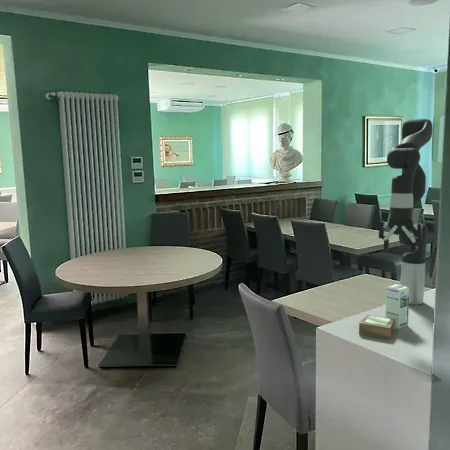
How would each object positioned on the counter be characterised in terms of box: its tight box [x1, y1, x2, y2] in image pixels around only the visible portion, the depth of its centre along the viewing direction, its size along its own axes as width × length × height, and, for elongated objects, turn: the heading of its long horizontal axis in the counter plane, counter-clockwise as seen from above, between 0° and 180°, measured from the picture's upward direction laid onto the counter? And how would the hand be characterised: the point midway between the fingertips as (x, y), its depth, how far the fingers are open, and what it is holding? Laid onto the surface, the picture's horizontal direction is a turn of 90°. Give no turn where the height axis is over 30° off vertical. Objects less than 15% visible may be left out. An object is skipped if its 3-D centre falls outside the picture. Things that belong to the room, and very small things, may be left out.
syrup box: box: [385, 283, 410, 330], centre depth 167 cm, size 6×6×14 cm
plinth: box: [358, 314, 396, 340], centre depth 161 cm, size 10×10×4 cm
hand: (399, 251), depth 164 cm, fingers open, 8 cm apart
